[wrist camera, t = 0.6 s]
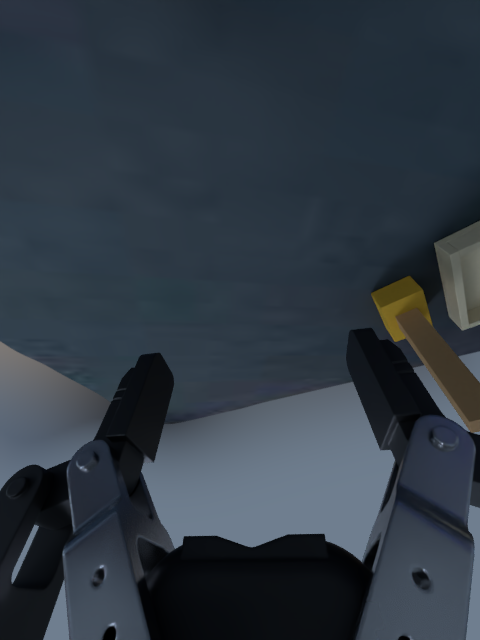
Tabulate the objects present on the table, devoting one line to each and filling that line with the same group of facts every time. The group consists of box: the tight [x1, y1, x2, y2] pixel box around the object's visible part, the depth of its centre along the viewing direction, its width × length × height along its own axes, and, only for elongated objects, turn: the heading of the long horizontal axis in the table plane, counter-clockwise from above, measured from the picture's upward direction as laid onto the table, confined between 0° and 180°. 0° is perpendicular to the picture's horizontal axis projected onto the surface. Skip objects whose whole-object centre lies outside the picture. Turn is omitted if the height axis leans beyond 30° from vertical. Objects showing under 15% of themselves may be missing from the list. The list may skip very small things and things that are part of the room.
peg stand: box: [371, 276, 480, 433], centre depth 26 cm, size 4×7×16 cm, turn 35°
